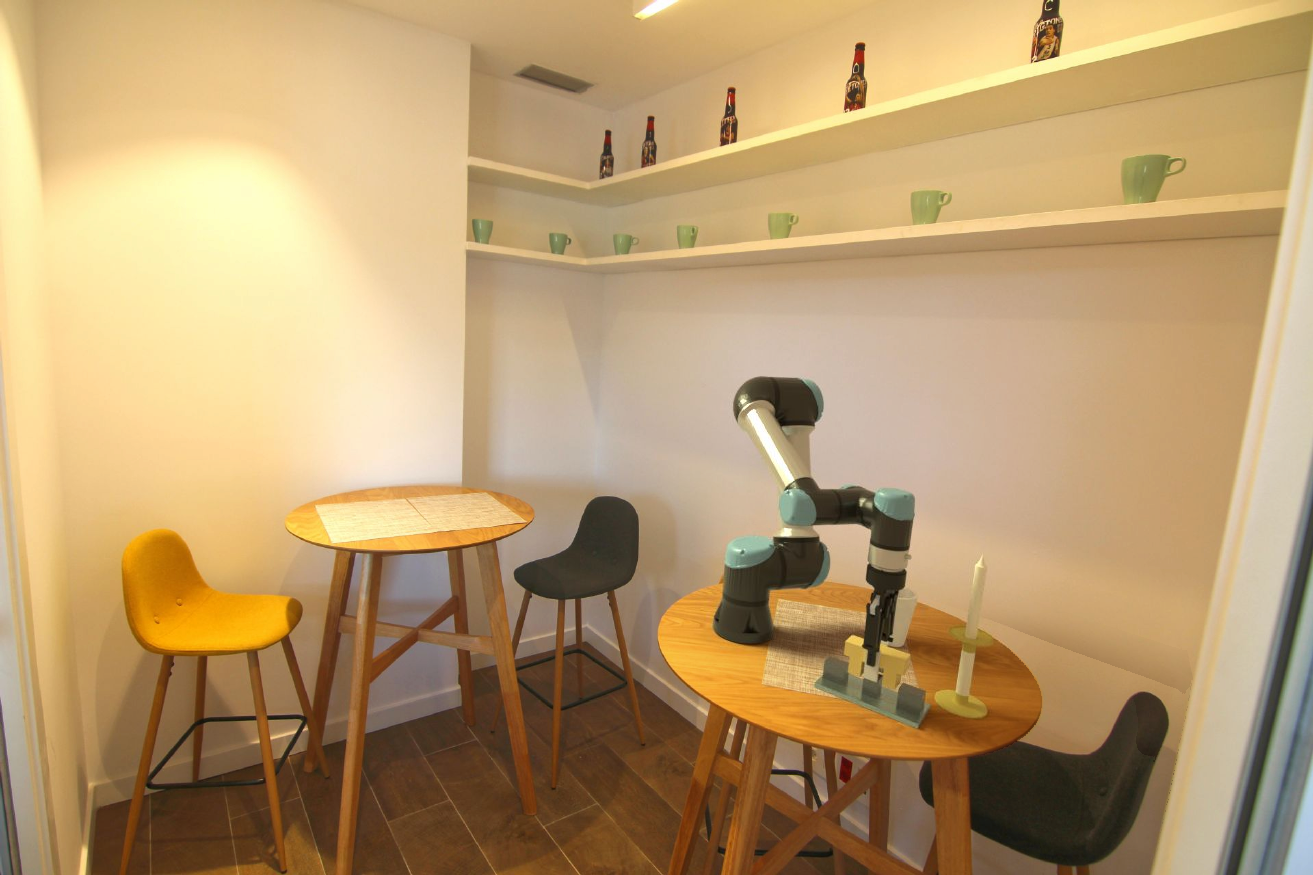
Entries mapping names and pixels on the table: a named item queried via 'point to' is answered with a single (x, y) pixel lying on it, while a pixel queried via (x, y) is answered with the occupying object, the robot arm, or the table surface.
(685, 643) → the table surface
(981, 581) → the candle
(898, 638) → the foam cup
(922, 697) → the rail
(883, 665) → the yellow arch-shaped block
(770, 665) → the table surface
